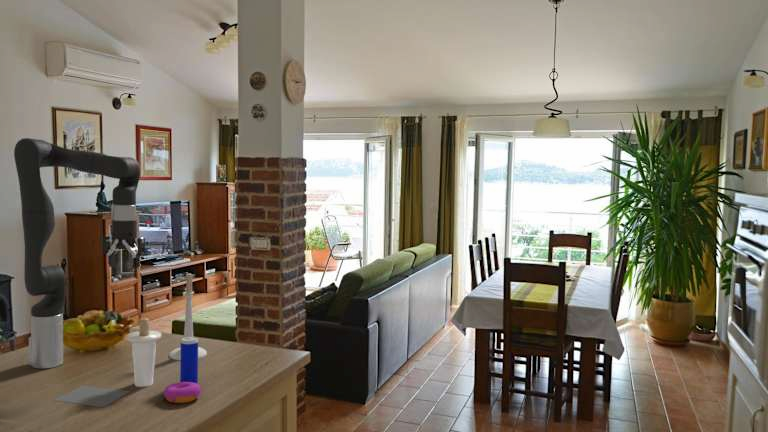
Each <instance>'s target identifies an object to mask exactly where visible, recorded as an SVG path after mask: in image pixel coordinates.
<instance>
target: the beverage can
mask: <svg viewBox="0 0 768 432" xmlns="http://www.w3.org/2000/svg"><path fill="white" fill-rule="evenodd" d="M180 347H181V360H180V364H179V365H180V369H179V371H180V372H179V373H180V378H179V381H180V382H193V383H197V384H198V385H199V382H198V380H199V378H198V377H199V359H198V347H199V340H198V337H196V336H193V337H184V336H183V337H182V338H181V340H180ZM180 382H179V383H180Z"/></svg>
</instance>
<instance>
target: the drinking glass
mask: <svg viewBox="0 0 768 432" xmlns="http://www.w3.org/2000/svg"><path fill="white" fill-rule="evenodd" d="M131 343H132V345H131V350H132V351H131V352H132V353H131V354H132V363H133V372H134V373H133V375H134V386H135V387H138V388H145V387H150V386H152V385H153V384H154V373H155V363H156V362H155V361H156V354H157V341H153V342H147V343H133V342H131Z"/></svg>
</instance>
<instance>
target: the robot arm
mask: <svg viewBox="0 0 768 432" xmlns="http://www.w3.org/2000/svg"><path fill="white" fill-rule="evenodd" d="M13 152H14V153H13V156H14V162H15V163H14V164H15V166H16V172H17V178H18V183H19V192H20V204H21V220H22V227H23V228H22V229H23V239H24V242H23V243H24V272H23V273H24V277H23V278H24V286H25V290H26V291H27V293H28V294H29V295H30V296H32V297H38V296H43V295H45V296H44V297H43V298H42V299H41V300H40V301H38V302H37V303H36V304H33V305H32V307H31V308H30V326H31V327H30V329H31V330H30V334H31V336H29V337H28V366H30V367H32V368H34V369H52V368H56V367H59V366H61V365H62V364H63V363H64V325H63V324H64V311H63V310H64V307H65V304H66V303H65V302H66V284H67V283H66V274H65V271H64V269H63V268H62V267H61V266H60V265H55V264H54V265H44V266H43V262H42V261H43V253H44V250H45V248H46V245H47V244H48V242H49V240H50V238H51V236H52V234H53V233H54V229H55V226H56V222H55V221H56V220H55V219H56V217H55V209H54V205H53V202H52V199H51V198H50V195H49V194H48V192H47V191H46V189H45V187H44V185H43V182H42V178H41V170H40V169H41V168H47V167H50V168H52V167H54V168H55V167H59V168H66V169H67V168H68V169H72V170H75V171H77V172H82V173H87V174H93V175H98V176H99V175H101V176H104V177H108V178H113V179H115V180H116V179H117V180H119V181H118V184H117V186H115V187H114V188H113V189H112V207H111V233H112V235H111V234H105V235H103V237H102V238H103V239H102V253H103V254H106V255H107V257H108V260H107V263H108V265H109V268H113V267H114V268H115V267H116V265H117V264H116V261H117V260H116V257H117V256H116V254H117V252H118V251H119V250H124V251H128V253H130V254H131V255H132V269H133V270H137V269H139V267H140V263H141V259H140V258H141V257H142V256H145V255H146V254H147V253H146V251H147V250H146V249H147V248H146V238H145V236H141V237H137V236H136V235H137V226H138V225H137V224H138V223H137V221H138V220H137V218H138V217H137V214H138V212H137V206H136V205H137V193H136V192H137V189H138V185H139V181H140V177H141V166H140V164H139V161H138V160H136V159H135V158H134V157H129V156H128V157H127V156H126V157H125V156H113V155H107V154H105V153H101V152H95V151H90V150H81V149H70V148H67V147H66V148H65V147H62V146H59V145H56V144H55V143H54V144H53V143H51V142H48V141H46V140H43V139H37V138H29V137H25V138H21V139H19V140H18V141H17V142H16V143H15V146H14V150H13ZM112 243H113V244H112Z"/></svg>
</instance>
